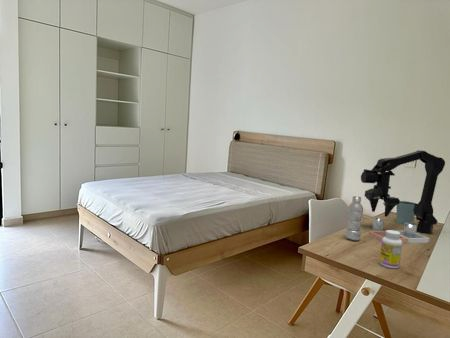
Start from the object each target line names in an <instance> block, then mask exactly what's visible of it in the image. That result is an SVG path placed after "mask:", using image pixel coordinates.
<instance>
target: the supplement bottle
mask: <svg viewBox="0 0 450 338" xmlns="http://www.w3.org/2000/svg"><path fill="white" fill-rule="evenodd" d="M385 231H386V237H384V238H383V239H382V242H381V245H380V254H379V255H380V256H379V264H380V265H381V266H383V267H386V268H389V269H398V268H399V267H400V265H401V256H402V248H403V244H402V241H401V240H400V239H399V237H400V232H397V231H398V230H393V229H392V230H391V229H388V230H385Z"/></svg>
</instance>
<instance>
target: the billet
mask: <svg viewBox="0 0 450 338" xmlns="http://www.w3.org/2000/svg"><path fill="white" fill-rule="evenodd" d="M417 225H418V224H415V223H405V224H403V231H404V233H403V236H405V237H407V238H415V237H416V233H417Z"/></svg>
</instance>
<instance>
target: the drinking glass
mask: <svg viewBox="0 0 450 338" xmlns="http://www.w3.org/2000/svg"><path fill="white" fill-rule="evenodd" d="M415 203H416V202H413V201H407V200H400V203H399V204H397V205H396V223H398V224H400V225H404V224H405V223H413V224H415V218H416V216H415V215H414V211H413V209H414V204H415Z"/></svg>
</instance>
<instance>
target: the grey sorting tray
mask: <svg viewBox="0 0 450 338" xmlns="http://www.w3.org/2000/svg"><path fill="white" fill-rule="evenodd" d="M386 231H387V230H383V231H375V230H369V231H368V234H367V237H369V238H370V237H371V239H374V240H375V241H377V242H378V241H379V243H382V239H383V238H384V237H386ZM396 231H397V232H400V237H399V239H400V240H401V241H402V245H404V244H430V243H431V242H430V237H428V236H425V235H423V234H421V233H419V232H416V237H415V238H407V237H405V236H403V233H404V230H396Z"/></svg>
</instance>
